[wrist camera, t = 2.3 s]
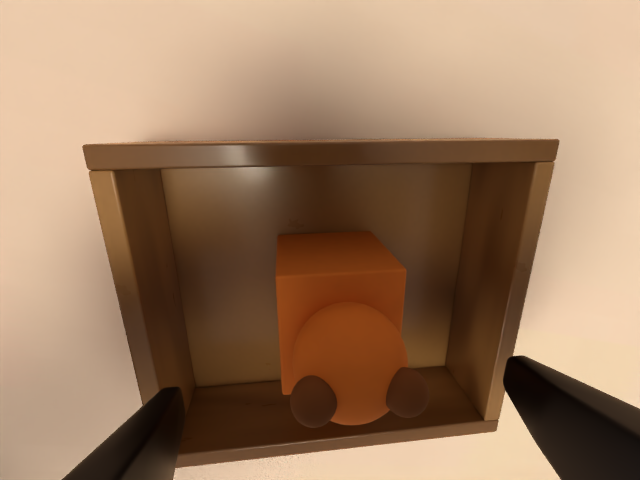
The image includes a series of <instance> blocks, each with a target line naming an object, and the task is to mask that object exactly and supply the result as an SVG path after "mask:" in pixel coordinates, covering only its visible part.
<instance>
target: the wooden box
mask: <svg viewBox="0 0 640 480" xmlns="http://www.w3.org/2000/svg"><path fill="white" fill-rule="evenodd" d="M558 146H559V140H558V139H511V138H444V139H350V140H256V141H162V142H128V143H107V144H86V145H83V147H82V148H83V152H84V156H85V160H86V165H87V168H88V169H89V170H91V171H89V177H90V181H91V185H92V190H93V194H94V198H95V202H96V207H97V211H98V215H99V220H100V224H101V228H102V232H103V237H104V241H105V245H106V250H107V254H108V258H109V262H110V267H111V271H112V275H113V280H114V284H115V288H116V292H117V297H118V301H119V305H120V310H121V314H122V318H123V322H124V327H125V331H126V335H127V340H128V344H129V348H130V352H131V357H132V361H133V365H134V370H135V374H136V378H137V382H138V387H139V391H140V395H141V400H142V404H143V405H145V404H146V403H147V402H148V401H149V400H150V399H151V398H152V397H153V396H154V395H156V394H157V393H158V392H159V391H160V390H161V389H163V388H165V387H176V386H178V387H180V388H181V390H182V395H183V400H184V406H185V412H186V417H185V424H184V428H183V433H182V438H181V443H180V448H179V452H178V457H177V462H176V467H175V468H181V467H189V466H198V465H207V464H216V463H224V462H233V461H242V460H251V459H259V458H268V457H277V456H286V455H294V454H303V453H312V452H321V451H329V450H338V449H347V448H356V447H364V446H373V445H382V444H391V443H399V442H408V441H417V440H426V439H434V438H443V437H452V436H461V435H469V434H478V433H487V432H495V431H496V430H497V425H498V419H499V417H500V412H501V407H502V403H503V398H504V394H505V388H504V385H503V376H504V371H505V366H506V362H507V359H508V358H509V357H511V356H513V352H514V348H515V343H516V339H517V334H518V329H519V325H520V320H521V316H522V311H523V306H524V302H525V297H526V293H527V288H528V283H529V279H530V274H531V270H532V265H533V260H534V256H535V251H536V247H537V242H538V237H539V233H540V228H541V224H542V219H543V215H544V210H545V205H546V201H547V196H548V192H549V187H550V182H551V178H552V173H553V169H554V162H552V161H555V159H556V155H557V150H558ZM359 231H371V232H372V233H373V234H374V235H375V236H376V237H377V238H378V239H379V241H380V242H381V243H382V244H383V245H384V246H385V247H386V248H387V249H388V250H389V251H390V252H391V253H392V255H393V256H394V257H395V258H396V259H397V260H398V261H399V262H400V263H401V264H402V265H403V266H404V267H405V269H406V271H407V272H406V283H405V295H404V307H403V319H402V331H401V337H402V339H403V341H404V344H405V348H406V351H407V357H408V368H411V369H413V370H415V371H417V372H418V373H419V374H420V375H421V376H422V377H423V378H424V379H425V381H426V383H427V386H428V389H429V401H428V404H427V406H426V408H425V410H424V411H423V412H422V413H421V414H419V415H418V416H415V417H411V418H405V417H401V416H398V415H396V414H395V413H393V412H392V411H391V410H389V411H388V412H387V413H386V414H384V415H383V416H381V417H380V418H378V419H376V420H374V421H372V422H369V423H366V424H361V425H343V424H338V423H335V422H332V421H329V422H328V423H326V424H325V425H323V426H321V427H316V428H310V427H306V426H304V425H302V424H301V423H299V422H298V421H297V420H296V418H295V417H294V415H293V413H292V410H291V406H290V397H291V394H289V395H283V393H282V383H281V366H280V348H279V331H278V314H277V296H276V279H275V277H276V255H277V236H278V235H287V234H311V233H335V232H359Z"/></svg>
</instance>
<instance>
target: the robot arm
mask: <svg viewBox="0 0 640 480" xmlns="http://www.w3.org/2000/svg"><path fill="white" fill-rule="evenodd" d="M503 385H504V388H505V390H506V392H507V394H508V395H509V397H510V399H511V401H512V402H513V404H514V406H515V408H516V409H517V411H518V413H519V415H520V416H521V418H522V420H523V422H524V423H525V425H526V427H527V428H528V430H529V432H530V434H531V435H532V437H533V439H534V440H535V442H536V444H537V445H538V447H539V448H540V450H541V451H542V453H543V454H544V455H545V457H546V458H547V460H548V461H549V463H550V464H551V466H552V467H553V469H554V470H555V471H556V473H557V474H558V476H559V477H560V479H561V480H640V409H639V408H637V407H634V406H632V405H630V404H628V403H626V402H624V401H621V400H619V399H617V398H615V397H613V396H611V395H608V394H606V393H604V392H602V391H600V390H598V389H595V388H593V387H591V386H589V385H587V384H584V383H582V382H580V381H578V380H576V379H574V378H571V377H569V376H567V375H565V374H563V373H561V372H558V371H556V370H554V369H552V368H550V367H548V366H545V365H543V364H541V363H539V362H537V361H534V360H532V359H530V358H528V357H526V356H511V357H509V358H508V359H507V362H506V366H505V371H504V376H503ZM185 417H186V412H185V406H184V400H183V395H182V390H181V388H180V387H178V386H176V387H165V388H163V389H161V390H160V391H159V392H158V393H157V394H156V395H154V396H153V397H152V398H151V399H150V400H149V401H148V402H147V403H146V404H145V405H143V406H142V407H141V408H140V409H139V410H138V411H137V412H136V413H135V414H134V415H132V416H131V417H130V418H129V419H128V420H127V421H126V422H125V423H124V424H123V425H121V426H120V427H119V428H118V429H117V430H116V431H115V432H114V433H113V434H111V435H110V436H109V437H108V438H107V439H106V440H105V441H104V442H103V443H102V444H100V445H99V446H98V447H97V448H96V449H95V450H94V451H93V452H92V453H91V454H89V455H88V456H87V457H86V458H85V459H84V460H83V461H82V462H81V463H80V464H78V465H77V466H76V467H75V468H74V469H73V470H72V471H71V472H70V473H69V474H67V475H66V476H65V477H64V478H63V479H62V480H173V476H174V472H175V467H176V462H177V457H178V452H179V448H180V443H181V438H182V433H183V428H184V424H185Z"/></svg>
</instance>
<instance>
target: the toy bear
mask: <svg viewBox="0 0 640 480" xmlns="http://www.w3.org/2000/svg"><path fill="white" fill-rule="evenodd" d="M406 272H407V271H406V269H405V267H404V266H403V265H402V264H401V263H400V262H399V261H398V260H397V259H396V258H395V257H394V256H393V255H392V253H391V252H390V251H389V250H388V249H387V248H386V247H385V246H384V245H383V244H382V243H381V242H380V241H379V239H378V238H377V237H376V236H375V235H374V234H373V233H372V232H371V231H359V232H335V233H311V234H287V235H278V236H277V255H276V277H275V279H276V296H277V314H278V331H279V348H280V366H281V383H282V393H283V395H289V394H291V397H290V406H291V410H292V413H293V415H294V417H295V418H296V420H297V421H298V422H299V423H301V424H302V425H304V426H306V427H310V428H316V427H321V426H323V425H325V424H326V423H328V422H329V421H332V422H335V423H338V424H343V425H361V424H366V423H369V422H372V421H374V420H376V419H378V418H380V417H381V416H383V415H384V414H386V413H387V412H388V411H389V410H391V411H392V412H393V413H395V414H396V415H398V416H401V417H405V418H411V417H415V416H418V415H419V414H421V413H422V412H423V411H424V410H425V408H426V406H427V404H428V401H429V389H428V386H427V383H426V381H425V379H424V378H423V377H422V376H421V375H420V374H419V373H418V372H417V371H415V370H413V369H411V368H408V357H407V351H406V348H405V344H404V341H403V339H402V337H401V331H402V319H403V307H404V295H405V283H406Z"/></svg>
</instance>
